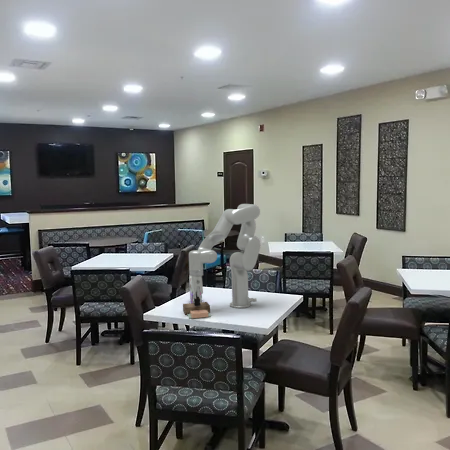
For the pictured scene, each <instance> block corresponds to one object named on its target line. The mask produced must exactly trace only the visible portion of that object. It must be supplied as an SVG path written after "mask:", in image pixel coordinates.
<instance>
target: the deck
mask: <svg viewBox="0 0 450 450" xmlns="http://www.w3.org/2000/svg"><path fill="white" fill-rule="evenodd" d="M196 310H207V311H208V312H209V314H211V305H210V304H209V302H208V301H202V302H200V306H195V305H194V303H191V302H189V303H188V302H187V303H182V311H183V313H184V315H185V316H188V315H187V314H190V311H196Z"/></svg>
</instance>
